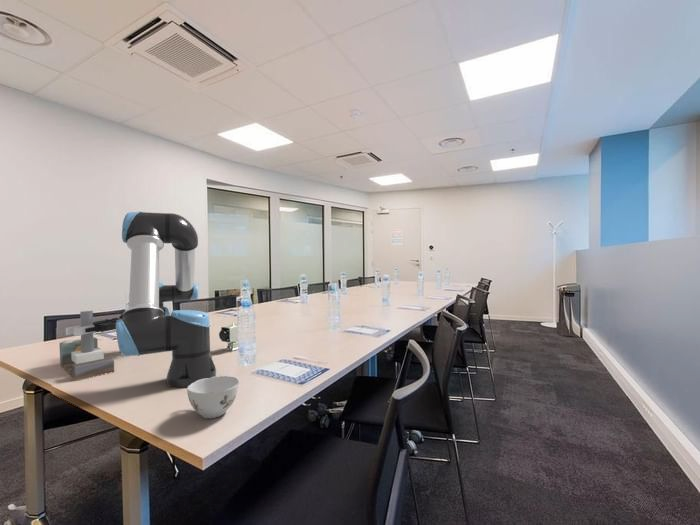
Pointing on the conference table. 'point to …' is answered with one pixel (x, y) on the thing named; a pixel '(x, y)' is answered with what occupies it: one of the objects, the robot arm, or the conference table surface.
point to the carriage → (87, 343)
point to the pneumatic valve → (230, 336)
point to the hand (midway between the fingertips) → (70, 331)
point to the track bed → (84, 368)
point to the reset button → (78, 348)
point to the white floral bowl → (213, 395)
